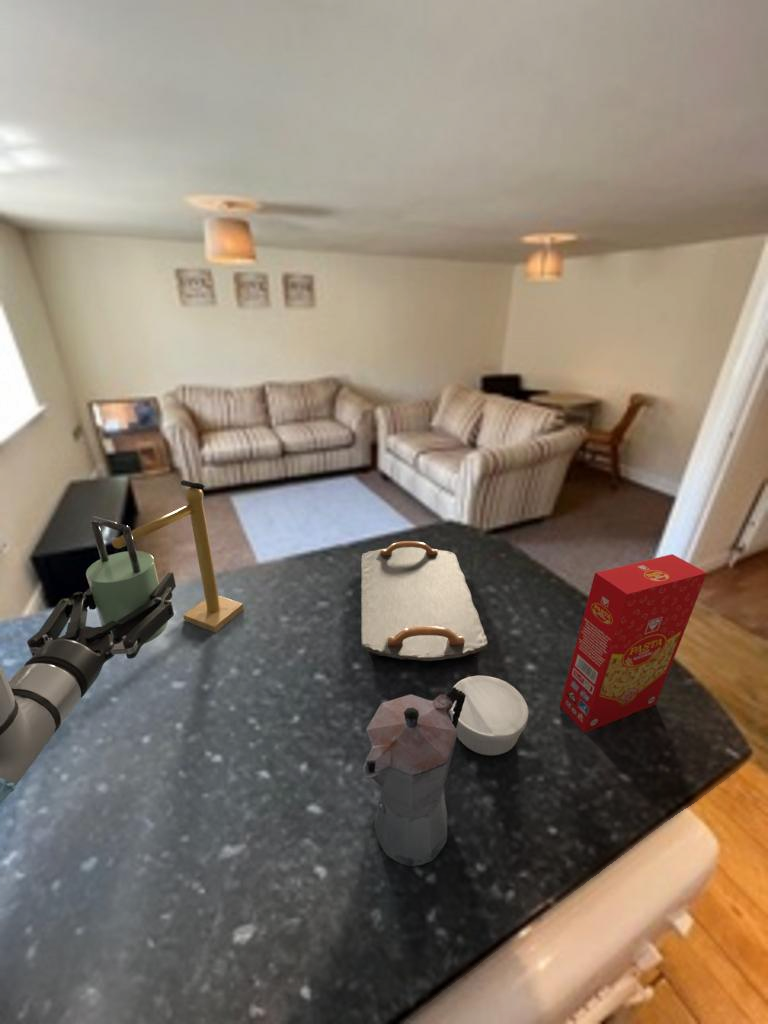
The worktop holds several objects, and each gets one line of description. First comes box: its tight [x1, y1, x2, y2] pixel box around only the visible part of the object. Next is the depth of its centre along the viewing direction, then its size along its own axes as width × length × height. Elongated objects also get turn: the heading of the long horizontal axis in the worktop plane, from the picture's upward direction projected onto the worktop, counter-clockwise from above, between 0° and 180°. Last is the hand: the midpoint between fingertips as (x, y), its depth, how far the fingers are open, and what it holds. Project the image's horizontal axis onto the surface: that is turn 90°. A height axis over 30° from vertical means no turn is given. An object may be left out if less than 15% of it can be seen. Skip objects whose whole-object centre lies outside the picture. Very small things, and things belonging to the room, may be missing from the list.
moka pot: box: [362, 686, 466, 867], centre depth 50 cm, size 10×15×20 cm, turn 137°
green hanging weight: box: [85, 515, 169, 645], centre depth 69 cm, size 9×9×20 cm
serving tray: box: [360, 540, 489, 662], centre depth 93 cm, size 39×23×6 cm, turn 3°
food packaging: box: [559, 553, 708, 734], centre depth 66 cm, size 15×5×25 cm, turn 112°
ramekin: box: [448, 675, 529, 756], centre depth 66 cm, size 11×11×5 cm
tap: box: [111, 479, 245, 634], centre depth 78 cm, size 8×20×28 cm, turn 156°
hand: (142, 579), depth 74 cm, fingers closed on green hanging weight, 9 cm apart
